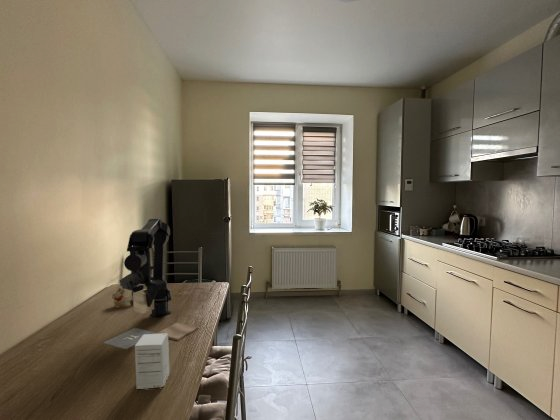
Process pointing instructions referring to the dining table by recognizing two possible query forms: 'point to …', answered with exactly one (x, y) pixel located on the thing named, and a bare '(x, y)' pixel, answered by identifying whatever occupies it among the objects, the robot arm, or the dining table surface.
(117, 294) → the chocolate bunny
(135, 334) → the slate gray tile
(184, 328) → the walnut board
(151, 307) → the maple block
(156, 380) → the supplement box
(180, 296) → the dining table surface
